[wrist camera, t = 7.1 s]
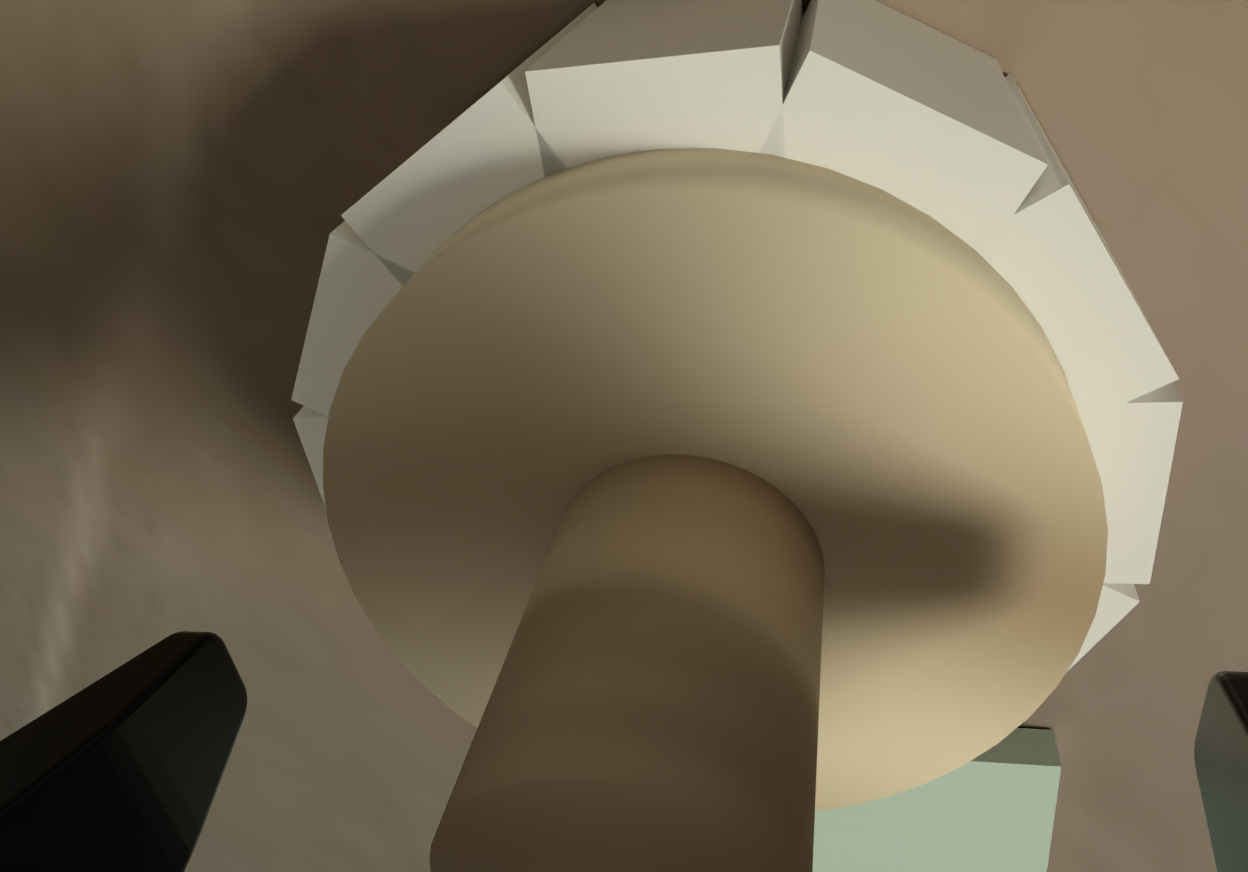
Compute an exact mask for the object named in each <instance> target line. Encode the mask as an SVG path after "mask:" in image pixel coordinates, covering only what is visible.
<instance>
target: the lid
mask: <svg viewBox="0 0 1248 872" xmlns="http://www.w3.org/2000/svg"><path fill="white" fill-rule="evenodd" d="M323 490H324V496H325V503H326V510H327V517H328V524H329V527H330V531H331V534H332V537H333V541H334V544H335V547H336V551H337V554H338V558H339V561H340V563H341V565H342V567H343V570H344V572H345V574H346V576H347V579H348V581H349V583H350V585H351V587H352V590H353V592H354V594H355V596H356V598H357V599H358V601H359V603H360V604H361V606H362V608H363V609H364V611H365V613H366V614H367V616H368V618H369V619H370V621H371V623H372V624H373V626H374V627H375V629H376V630H377V632H378V633H379V634H380V635H381V637H382V638H383V639H384V641H385V642H386V643H387V644H388V646H389V647H390V648H391V650H392V651H393V652H394V654H395V655H396V656H397V657H398V659H399V660H400V661H401V662H402V663H403V664H404V665H405V666H406V667H407V668H408V669H409V670H410V671H411V672H412V673H413V674H414V675H415V677H416V678H417V679H418V680H419V681H420V682H421V683H422V684H423V685H424V686H425V687H426V688H427V689H428V690H429V691H431V692H432V693H433V694H434V695H435V696H436V697H438V698H439V699H440V700H441V701H442V702H443V703H445V704H446V705H447V706H448V707H449V708H450V709H452V710H453V711H454V712H455V713H456V714H458V715H459V716H461V717H462V718H463V719H465V720H466V721H468V722H469V723H470V724H472V725H473V726H475V727H476V728H477V731H476V733H475V736H474V738H473V741H472V743H471V746H470V748H469V751H468V753H467V756H466V758H465V761H464V763H463V766H462V768H461V771H460V773H459V776H458V778H457V781H456V783H455V786H454V788H453V791H452V793H451V796H450V798H449V801H448V803H447V806H446V808H445V811H444V813H443V816H442V818H441V821H440V823H439V826H438V828H437V831H436V834H435V836H434V839H433V842H432V844H431V852H430V868H431V872H812V870H813V846H814V821H815V811H822V810H829V809H836V808H843V807H849V806H853V805H857V804H861V803H865V802H869V801H874V800H878V799H882V798H886V797H889V796H892V795H895V794H898V793H900V792H903V791H906V790H909V789H912V788H915V787H918V786H920V785H923V784H926V783H928V782H930V781H932V780H934V779H936V778H939V777H941V776H943V775H945V774H947V773H949V772H951V771H953V770H955V769H957V768H959V767H962V766H963V765H965V764H967V763H968V762H970V761H971V760H973V759H975V758H976V757H978V756H979V755H981V754H982V753H984V752H986V751H987V750H989V749H990V748H992V747H993V746H995V745H997V744H998V743H999V742H1000V741H1002V740H1003V739H1004V738H1005V737H1006V736H1008V735H1009V734H1010V733H1011V732H1012V731H1014V730H1015V729H1016V728H1017V727H1018V726H1020V725H1021V724H1022V723H1023V722H1024V721H1026V720H1027V719H1028V718H1029V717H1030V716H1031V715H1032V714H1033V713H1034V712H1035V711H1036V709H1037V708H1038V707H1039V706H1040V705H1041V704H1042V703H1043V702H1044V701H1045V699H1046V698H1047V697H1048V696H1049V695H1050V694H1051V693H1052V692H1053V691H1054V689H1055V688H1056V687H1057V686H1058V684H1059V683H1060V681H1061V680H1062V678H1063V677H1064V675H1065V673H1066V672H1067V670H1068V669H1069V667H1070V666H1071V664H1072V663H1073V661H1074V660H1075V658H1076V657H1077V655H1078V654H1079V652H1080V649H1081V647H1082V645H1083V642H1084V640H1085V638H1086V636H1087V633H1088V631H1089V629H1090V626H1091V624H1092V622H1093V620H1094V617H1095V615H1096V611H1097V607H1098V603H1099V599H1100V595H1101V590H1102V586H1103V582H1104V578H1105V574H1106V557H1107V539H1108V526H1107V518H1106V510H1105V502H1104V494H1103V486H1102V482H1101V479H1100V476H1099V472H1098V469H1097V466H1096V463H1095V460H1094V456H1093V453H1092V450H1091V447H1090V444H1089V441H1088V437H1087V435H1086V432H1085V429H1084V426H1083V423H1082V420H1081V417H1080V415H1079V412H1078V409H1077V406H1076V403H1075V400H1074V398H1073V395H1072V392H1071V389H1070V386H1069V383H1068V381H1067V378H1066V375H1065V372H1064V370H1063V368H1062V366H1061V364H1060V362H1059V360H1058V358H1057V356H1056V354H1055V352H1054V350H1053V348H1052V346H1051V344H1050V342H1049V340H1048V338H1047V336H1046V334H1045V332H1044V330H1043V328H1042V327H1041V326H1040V324H1039V323H1038V321H1037V320H1036V319H1035V317H1034V316H1033V315H1032V313H1031V312H1030V310H1029V309H1028V308H1027V306H1026V305H1025V304H1024V302H1023V301H1022V299H1021V298H1020V297H1019V295H1018V294H1017V293H1016V291H1015V290H1014V288H1013V287H1012V286H1011V285H1010V284H1009V283H1008V282H1007V281H1006V280H1005V279H1004V278H1003V277H1002V276H1001V275H1000V274H999V273H998V272H997V271H996V270H995V269H994V268H993V267H992V266H991V265H990V264H989V263H988V262H987V261H986V260H985V259H984V258H983V257H982V256H981V255H980V254H979V253H978V252H977V251H976V250H975V249H974V248H972V247H971V246H970V245H968V244H967V243H966V242H964V241H963V240H962V239H960V238H959V237H958V236H956V235H955V234H954V233H952V232H951V231H950V230H948V229H947V228H946V227H944V226H943V225H942V224H940V223H939V222H938V221H936V220H935V219H934V218H932V217H931V216H929V215H927V214H925V213H924V212H922V211H920V210H918V209H916V208H915V207H913V206H911V205H909V204H908V203H906V202H904V201H902V200H900V199H899V198H897V197H895V196H893V195H891V194H890V193H888V192H886V191H884V190H882V189H880V188H877V187H875V186H872V185H869V184H867V183H864V182H862V181H859V180H857V179H854V178H852V177H849V176H847V175H844V174H841V173H839V172H836V171H834V170H831V169H828V168H824V167H820V166H816V165H812V164H808V163H804V162H800V161H796V160H792V159H788V158H784V157H780V156H776V155H771V154H762V153H753V152H745V151H736V150H727V149H718V148H701V149H658V150H651V151H645V152H638V153H631V154H625V155H618V156H612V157H605V158H602V159H599V160H595V161H592V162H588V163H585V164H582V165H578V166H575V167H571V168H568V169H565V170H561V171H558V172H555V173H553V174H551V175H548V176H546V177H544V178H542V179H540V180H537V181H535V182H533V183H531V184H529V185H526V186H524V187H522V188H520V189H518V190H515V191H513V192H511V193H509V194H508V195H506V196H505V197H503V198H502V199H500V200H499V201H497V202H495V203H494V204H492V205H491V206H489V207H488V208H486V209H485V210H483V211H482V212H480V213H479V214H477V215H475V216H474V217H472V218H471V219H470V220H469V221H467V222H466V223H465V224H464V225H463V226H462V227H461V228H460V229H458V230H457V231H456V232H455V233H454V234H453V235H452V236H451V237H450V238H448V239H447V240H446V241H445V242H444V243H443V244H442V245H441V246H439V247H438V248H437V249H436V250H435V252H434V253H433V254H432V255H431V256H430V257H429V258H428V259H427V261H426V262H425V263H424V264H423V265H422V266H421V267H420V268H419V269H418V271H417V272H416V273H415V274H414V275H413V276H412V277H411V278H410V279H409V281H408V282H407V283H406V284H405V285H404V286H403V287H402V288H401V290H400V291H399V292H398V293H397V294H396V295H395V296H394V297H393V298H392V300H391V301H390V302H389V303H388V305H387V306H386V307H385V308H384V310H383V311H382V312H381V313H380V315H379V316H378V317H377V318H376V319H375V321H374V322H373V323H372V324H371V326H370V327H369V328H368V329H367V331H366V332H365V333H364V335H363V337H362V338H361V340H360V342H359V344H358V345H357V347H356V349H355V351H354V353H353V354H352V356H351V358H350V360H349V361H348V363H347V365H346V367H345V369H344V371H343V373H342V376H341V379H340V382H339V385H338V387H337V390H336V393H335V396H334V399H333V402H332V404H331V407H330V412H329V417H328V423H327V429H326V435H325V440H324V446H323Z"/></svg>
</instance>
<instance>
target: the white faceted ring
mask: <svg viewBox="0 0 1248 872" xmlns="http://www.w3.org/2000/svg"><path fill="white" fill-rule="evenodd" d="M701 148H718V149H727V150H736V151H745V152H753V153H762V154H771V155H776V156H780V157H784V158H788V159H792V160H796V161H800V162H804V163H808V164H812V165H816V166H820V167H824V168H828V169H831V170H834V171H836V172H839V173H841V174H844V175H847V176H849V177H852V178H854V179H857V180H859V181H862V182H864V183H867V184H869V185H872V186H875V187H877V188H880V189H882V190H884V191H886V192H888V193H890V194H891V195H893V196H895V197H897V198H899V199H900V200H902V201H904V202H906V203H908V204H909V205H911V206H913V207H915V208H916V209H918V210H920V211H922V212H924V213H925V214H927V215H929V216H931V217H932V218H934V219H935V220H936V221H938V222H939V223H940V224H942V225H943V226H944V227H946V228H947V229H948V230H950V231H951V232H952V233H954V234H955V235H956V236H958V237H959V238H960V239H962V240H963V241H964V242H966V243H967V244H968V245H970V246H971V247H972V248H974V249H975V250H976V251H977V252H978V253H979V254H980V255H981V256H982V257H983V258H984V259H985V260H986V261H987V262H988V263H989V264H990V265H991V266H992V267H993V268H994V269H995V270H996V271H997V272H998V273H999V274H1000V275H1001V276H1002V277H1003V278H1004V279H1005V280H1006V281H1007V282H1008V283H1009V284H1010V285H1011V286H1012V287H1013V288H1014V290H1015V291H1016V293H1017V294H1018V295H1019V297H1020V298H1021V299H1022V301H1023V302H1024V304H1025V305H1026V306H1027V308H1028V309H1029V310H1030V312H1031V313H1032V315H1033V316H1034V317H1035V319H1036V320H1037V321H1038V323H1039V324H1040V326H1041V327H1042V328H1043V330H1044V332H1045V334H1046V336H1047V338H1048V340H1049V342H1050V344H1051V346H1052V348H1053V350H1054V352H1055V354H1056V356H1057V358H1058V360H1059V362H1060V364H1061V366H1062V368H1063V370H1064V372H1065V375H1066V378H1067V381H1068V383H1069V386H1070V389H1071V392H1072V395H1073V398H1074V400H1075V403H1076V406H1077V409H1078V412H1079V415H1080V417H1081V420H1082V423H1083V426H1084V429H1085V432H1086V435H1087V437H1088V441H1089V444H1090V447H1091V450H1092V453H1093V456H1094V460H1095V463H1096V466H1097V469H1098V472H1099V476H1100V479H1101V482H1102V486H1103V494H1104V502H1105V510H1106V518H1107V526H1108V539H1107V557H1106V574H1105V578H1104V582H1103V586H1102V590H1101V595H1100V599H1099V603H1098V607H1097V611H1096V615H1095V617H1094V620H1093V622H1092V624H1091V626H1090V629H1089V631H1088V633H1087V636H1086V638H1085V640H1084V642H1083V645H1082V647H1081V649H1080V652H1079V654H1078V655H1077V657H1076V658H1075V660H1074V661H1073V663H1072V664H1071V666H1070V667H1069V669H1070V668H1071V667H1072V666H1073V665H1074V664H1076V663H1077V662H1078V661H1079V660H1080V659H1081V658H1082V657H1083V656H1084V655H1085V654H1086V653H1087V652H1088V651H1089V650H1090V649H1091V648H1092V647H1093V646H1094V645H1095V644H1096V643H1097V642H1098V641H1099V640H1100V639H1101V638H1102V637H1104V636H1105V635H1106V634H1107V633H1108V632H1109V631H1110V630H1111V629H1112V628H1113V627H1114V626H1115V625H1116V624H1117V623H1118V622H1119V621H1120V620H1121V619H1122V618H1123V617H1124V616H1125V615H1126V614H1127V613H1128V612H1129V611H1130V610H1131V609H1133V608H1134V607H1135V606H1136V605H1137V604H1138V603H1139V602H1140V601H1139V598H1138V595H1137V592H1136V590H1135V587H1134V584H1150V580H1151V574H1152V569H1153V563H1154V558H1155V552H1156V547H1157V541H1158V536H1159V530H1160V525H1161V519H1162V514H1163V508H1164V503H1165V497H1166V492H1167V486H1168V481H1169V475H1170V470H1171V464H1172V459H1173V453H1174V448H1175V442H1176V437H1177V431H1178V426H1179V420H1180V415H1181V409H1182V404H1183V401H1182V399H1181V397H1180V395H1179V394H1178V392H1177V390H1176V388H1175V386H1174V384H1173V382H1174V381H1176V380H1178V379H1179V378H1178V376H1177V374H1176V372H1175V370H1174V369H1173V367H1172V365H1171V363H1170V361H1169V359H1168V357H1167V356H1166V354H1165V352H1164V350H1163V348H1162V346H1161V344H1160V343H1159V341H1158V339H1157V337H1156V335H1155V333H1154V331H1153V330H1152V328H1151V326H1150V324H1149V322H1148V320H1147V319H1146V317H1145V315H1144V313H1143V311H1142V309H1141V307H1140V306H1139V304H1138V302H1137V300H1136V298H1135V296H1134V294H1133V293H1132V291H1131V289H1130V287H1129V285H1128V283H1127V281H1126V280H1125V278H1124V276H1123V274H1122V272H1121V270H1120V268H1119V267H1118V265H1117V263H1116V261H1115V259H1114V257H1113V255H1112V254H1111V252H1110V250H1109V248H1108V246H1107V244H1106V242H1105V241H1104V239H1103V237H1102V235H1101V233H1100V231H1099V229H1098V228H1097V226H1096V224H1095V222H1094V220H1093V219H1092V217H1091V215H1090V213H1089V212H1088V210H1087V208H1086V206H1085V204H1084V203H1083V201H1082V199H1081V197H1080V196H1079V194H1078V192H1077V190H1076V188H1075V187H1074V185H1073V183H1072V181H1071V179H1070V178H1069V176H1068V174H1067V172H1066V171H1065V169H1064V167H1063V165H1062V163H1061V162H1060V160H1059V158H1058V156H1057V155H1056V153H1055V151H1054V149H1053V147H1052V146H1051V144H1050V142H1049V140H1048V139H1047V137H1046V135H1045V133H1044V131H1043V130H1042V128H1041V126H1040V124H1039V123H1038V121H1037V119H1036V117H1035V115H1034V114H1033V112H1032V110H1031V108H1030V107H1029V105H1028V103H1027V101H1026V99H1025V98H1024V96H1023V94H1022V92H1021V91H1020V89H1019V87H1018V85H1017V83H1016V82H1015V80H1014V78H1013V76H1012V75H1011V74H1009V75H1007V76H1006V77H1004V75H1003V73H1002V71H1001V69H1000V67H999V65H998V63H997V61H996V59H995V58H993V57H990V56H988V55H986V54H984V53H982V52H980V51H978V50H976V49H974V48H972V47H970V46H968V45H966V44H964V43H962V42H960V41H957V40H955V39H953V38H951V37H949V36H947V35H945V34H943V33H941V32H939V31H937V30H935V29H933V28H931V27H929V26H927V25H925V24H922V23H920V22H918V21H916V20H914V19H912V18H910V17H908V16H906V15H904V14H902V13H900V12H898V11H896V10H894V9H892V8H889V7H887V6H885V5H883V4H881V3H879V2H877V1H875V0H811V1H810V3H809V5H808V7H807V9H806V11H805V13H804V15H803V13H802V0H606V1H605V2H604V3H603V4H601V5H600V6H599V7H597V6H596V4H595V3H593V4H592V5H591V6H589V7H588V8H587V9H586V10H585V11H583V12H582V13H581V14H580V15H579V16H578V17H576V18H575V19H574V20H573V21H572V22H570V23H569V24H568V25H567V26H566V27H564V28H563V29H562V30H561V31H560V32H558V33H557V34H556V35H555V36H554V37H552V38H551V39H550V40H549V41H548V42H546V43H545V44H544V45H543V46H542V47H540V48H539V49H538V50H537V51H536V52H534V53H533V54H532V55H531V56H530V57H529V58H527V59H526V60H525V61H524V62H523V63H521V64H520V65H519V66H518V67H517V68H515V69H514V70H513V71H512V72H511V73H509V74H508V75H507V76H506V77H505V78H503V79H502V80H501V81H500V82H499V83H497V84H496V85H495V86H494V87H493V88H491V89H490V90H489V91H488V92H487V93H485V94H484V95H483V96H482V97H481V98H480V99H478V100H477V101H476V102H475V103H474V104H472V105H471V106H470V107H469V108H468V109H466V110H465V111H464V112H463V113H462V114H460V115H459V116H458V117H457V118H456V119H455V120H453V121H452V122H451V123H450V124H449V125H447V126H446V127H445V128H444V129H443V130H441V131H440V132H439V133H438V134H437V135H436V136H434V137H433V138H432V139H431V140H430V141H428V142H427V143H426V144H425V145H424V146H422V147H421V148H420V149H419V150H418V151H417V152H415V153H414V154H413V155H412V156H411V157H409V158H408V159H407V160H406V161H405V162H404V163H402V164H401V165H400V166H399V167H398V168H396V169H395V170H394V171H393V172H392V173H390V174H389V175H388V176H387V177H386V178H385V179H383V180H382V181H381V182H380V183H379V184H377V185H376V186H375V187H374V188H373V189H371V190H370V191H369V192H368V193H367V194H366V195H364V196H363V197H362V198H361V199H360V200H358V201H357V202H356V203H355V204H354V205H353V206H351V207H350V208H349V209H348V210H347V211H345V212H344V213H343V214H342V215H341V216H342V217H343V219H344V220H345V221H344V222H343V223H342V224H340V225H339V226H338V227H337V228H336V229H335V230H333V231H332V232H331V233H330V235H329V239H328V243H327V248H326V252H325V256H324V260H323V265H322V269H321V273H320V278H319V282H318V286H317V291H316V295H315V299H314V304H313V308H312V312H311V317H310V321H309V325H308V329H307V334H306V338H305V342H304V347H303V351H302V355H301V360H300V364H299V368H298V373H297V377H296V381H295V386H294V390H293V394H292V398H291V400H292V401H294V402H297V403H299V404H301V405H303V407H302V409H301V410H300V411H299V412H298V413H297V414H296V415H295V417H294V418H293V421H294V423H295V426H296V429H297V432H298V434H299V437H300V440H301V443H302V445H303V448H304V451H305V453H306V456H307V459H308V462H309V464H310V467H311V470H312V472H313V475H314V478H315V481H316V483H317V486H318V489H319V492H320V494H321V497H322V500H323V502H324V505H325V508H326V503H325V496H324V490H323V446H324V440H325V435H326V429H327V423H328V417H329V412H330V407H331V404H332V402H333V399H334V396H335V393H336V390H337V387H338V385H339V382H340V379H341V376H342V373H343V371H344V369H345V367H346V365H347V363H348V361H349V360H350V358H351V356H352V354H353V353H354V351H355V349H356V347H357V345H358V344H359V342H360V340H361V338H362V337H363V335H364V333H365V332H366V331H367V329H368V328H369V327H370V326H371V324H372V323H373V322H374V321H375V319H376V318H377V317H378V316H379V315H380V313H381V312H382V311H383V310H384V308H385V307H386V306H387V305H388V303H389V302H390V301H391V300H392V298H393V297H394V296H395V295H396V294H397V293H398V292H399V291H400V290H401V288H402V287H403V286H404V285H405V284H406V283H407V282H408V281H409V279H410V278H411V277H412V276H413V275H414V274H415V273H416V272H417V271H418V269H419V268H420V267H421V266H422V265H423V264H424V263H425V262H426V261H427V259H428V258H429V257H430V256H431V255H432V254H433V253H434V252H435V250H436V249H437V248H438V247H439V246H441V245H442V244H443V243H444V242H445V241H446V240H447V239H448V238H450V237H451V236H452V235H453V234H454V233H455V232H456V231H457V230H458V229H460V228H461V227H462V226H463V225H464V224H465V223H466V222H467V221H469V220H470V219H471V218H472V217H474V216H475V215H477V214H479V213H480V212H482V211H483V210H485V209H486V208H488V207H489V206H491V205H492V204H494V203H495V202H497V201H499V200H500V199H502V198H503V197H505V196H506V195H508V194H509V193H511V192H513V191H515V190H518V189H520V188H522V187H524V186H526V185H529V184H531V183H533V182H535V181H537V180H540V179H542V178H544V177H546V176H548V175H551V174H553V173H555V172H558V171H561V170H565V169H568V168H571V167H575V166H578V165H582V164H585V163H588V162H592V161H595V160H599V159H602V158H605V157H612V156H618V155H625V154H631V153H638V152H645V151H651V150H658V149H701ZM326 511H327V510H326ZM1069 669H1068V670H1069ZM1068 670H1067V671H1068Z"/></svg>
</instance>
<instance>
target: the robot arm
mask: <svg viewBox="0 0 1248 872" xmlns="http://www.w3.org/2000/svg"><path fill="white" fill-rule="evenodd" d="M246 707H247V692H246V688H245V685H244V683H243V681H242V679H241V677H240V675H239V673H238V671H237V669H236V666H235V664H234V662H233V660H232V658H231V656H230V654H229V652H228V650H227V648H226V645H225V643H224V642H223V640H222V639H221V638H220V637H219V636H218V635H216V634H214V633H211V632H188V631H183V632H177V633H174V634H172V635H170V636H168V637H167V638H165V639H163V640H162V641H160V642H159V643H157V644H155V645H154V646H152V647H151V648H149V649H147V650H146V651H144V652H143V653H141V654H139V655H138V656H136V657H134V658H133V659H131V660H130V661H128V662H126V663H125V664H123V665H122V666H120V667H118V668H117V669H115V670H114V671H112V672H110V673H109V674H107V675H106V676H104V677H102V678H101V679H99V680H98V681H96V682H94V683H93V684H91V685H90V686H88V687H86V688H85V689H83V690H82V691H80V692H78V693H77V694H75V695H74V696H72V697H70V698H69V699H67V700H66V701H64V702H62V703H61V704H59V705H58V706H56V707H54V708H53V709H51V710H50V711H48V712H46V713H45V714H43V715H42V716H40V717H38V718H37V719H35V720H33V721H32V722H30V723H29V724H27V725H25V726H24V727H22V728H21V729H19V730H17V731H16V732H14V733H13V734H11V735H9V736H8V737H6V738H5V739H3V740H1V741H0V872H184V871H185V868H186V866H187V864H188V862H189V860H190V858H191V855H192V853H193V850H194V848H195V846H196V843H197V841H198V838H199V836H200V833H201V831H202V828H203V825H204V823H205V820H206V817H207V815H208V812H209V809H210V807H211V804H212V801H213V799H214V796H215V793H216V791H217V788H218V785H219V783H220V780H221V777H222V775H223V772H224V769H225V767H226V764H227V761H228V759H229V756H230V753H231V751H232V748H233V745H234V743H235V740H236V737H237V735H238V732H239V729H240V727H241V724H242V721H243V719H244V716H245V712H246ZM1194 753H1195V766H1196V772H1197V777H1198V782H1199V787H1200V791H1201V796H1202V801H1203V806H1204V810H1205V815H1206V820H1207V825H1208V829H1209V834H1210V839H1211V843H1212V848H1213V853H1214V858H1215V862H1216V867H1217V872H1248V672H1231V671H1222V672H1218V673H1216V674H1214V675H1213V677H1212V678H1211V680H1210V682H1209V685H1208V688H1207V692H1206V697H1205V701H1204V705H1203V709H1202V714H1201V718H1200V722H1199V726H1198V730H1197V735H1196V739H1195V749H1194Z"/></svg>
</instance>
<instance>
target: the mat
mask: <svg viewBox="0 0 1248 872" xmlns="http://www.w3.org/2000/svg"><path fill="white" fill-rule="evenodd" d="M1060 772H1061V763H1060V758H1059V753H1058V749H1057V744H1056V739H1055V734H1054V730H1046V729H1027V728H1016V729H1015V730H1014V731H1012V732H1011V733H1010V734H1009V735H1008V736H1006V737H1005V738H1004V739H1003V740H1002V741H1000V742H999V743H998V744H997V745H995V746H993V747H992V748H990V749H989V750H987V751H986V752H984V753H982V754H981V755H979V756H978V757H976V758H975V759H973V760H971V761H970V762H968V763H967V764H965V765H963V766H962V767H959V768H957V769H955V770H953V771H951V772H949V773H947V774H945V775H943V776H941V777H939V778H936V779H934V780H932V781H930V782H928V783H926V784H923V785H920V786H918V787H915V788H912V789H909V790H906V791H903V792H900V793H898V794H895V795H892V796H889V797H886V798H882V799H878V800H874V801H869V802H865V803H861V804H857V805H853V806H849V807H843V808H836V809H829V810H822V811H815V821H814V846H813V870H812V872H1047V866H1048V859H1049V852H1050V844H1051V837H1052V830H1053V823H1054V815H1055V808H1056V801H1057V794H1058V787H1059V779H1060Z"/></svg>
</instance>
